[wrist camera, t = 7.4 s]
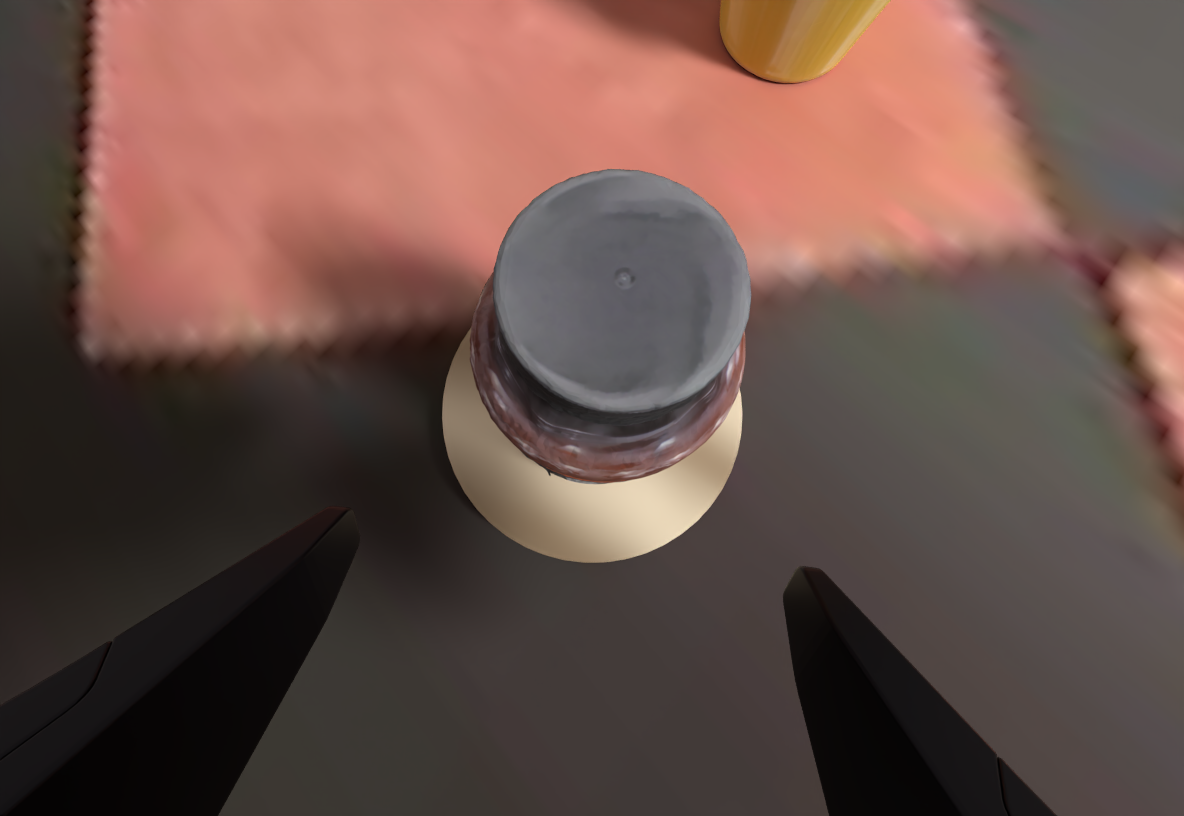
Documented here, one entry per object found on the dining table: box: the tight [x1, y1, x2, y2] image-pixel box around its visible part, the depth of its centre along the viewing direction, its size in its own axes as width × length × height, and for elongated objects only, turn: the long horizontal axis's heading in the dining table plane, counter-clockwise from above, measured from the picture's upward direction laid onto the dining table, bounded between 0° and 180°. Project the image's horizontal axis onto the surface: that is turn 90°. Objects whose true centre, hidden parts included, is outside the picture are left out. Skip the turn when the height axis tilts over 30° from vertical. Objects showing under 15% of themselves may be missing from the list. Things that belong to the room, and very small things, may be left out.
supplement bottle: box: [469, 169, 751, 484], centre depth 12 cm, size 6×6×11 cm
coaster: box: [442, 328, 742, 563], centre depth 19 cm, size 12×12×1 cm
